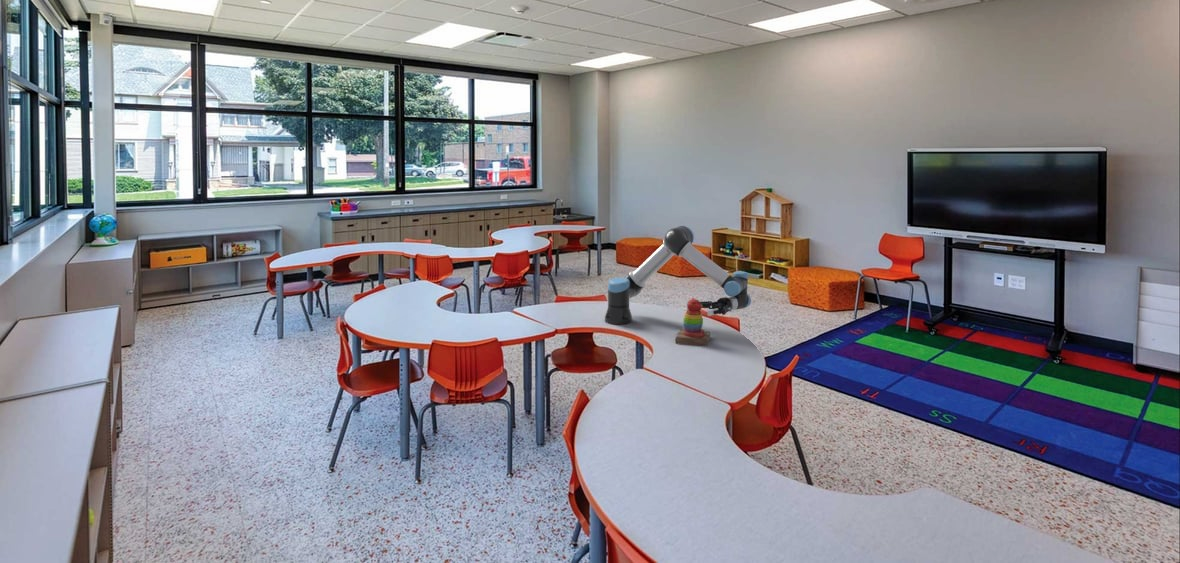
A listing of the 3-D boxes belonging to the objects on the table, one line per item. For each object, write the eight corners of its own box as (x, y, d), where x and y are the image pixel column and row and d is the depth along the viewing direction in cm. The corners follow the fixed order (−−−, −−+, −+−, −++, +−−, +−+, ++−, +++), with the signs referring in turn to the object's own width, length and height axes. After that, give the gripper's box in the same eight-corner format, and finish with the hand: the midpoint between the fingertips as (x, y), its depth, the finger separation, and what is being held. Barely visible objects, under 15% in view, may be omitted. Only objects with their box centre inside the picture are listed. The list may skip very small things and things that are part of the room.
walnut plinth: (680, 334, 310) (680, 329, 309) (710, 337, 305) (710, 331, 305) (675, 343, 296) (675, 337, 295) (706, 345, 291) (707, 339, 291)
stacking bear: (703, 338, 294) (705, 302, 290) (682, 337, 296) (683, 301, 292) (704, 331, 304) (705, 297, 300) (683, 330, 306) (684, 296, 302)
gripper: (745, 316, 302) (716, 323, 289) (708, 306, 322) (679, 312, 309) (746, 301, 300) (717, 307, 288) (708, 292, 320) (679, 298, 308)
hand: (697, 310), depth 298 cm, fingers open, 13 cm apart
